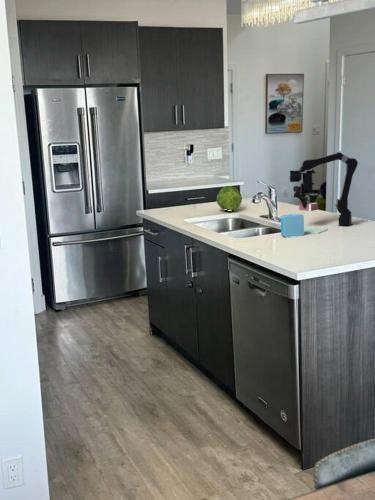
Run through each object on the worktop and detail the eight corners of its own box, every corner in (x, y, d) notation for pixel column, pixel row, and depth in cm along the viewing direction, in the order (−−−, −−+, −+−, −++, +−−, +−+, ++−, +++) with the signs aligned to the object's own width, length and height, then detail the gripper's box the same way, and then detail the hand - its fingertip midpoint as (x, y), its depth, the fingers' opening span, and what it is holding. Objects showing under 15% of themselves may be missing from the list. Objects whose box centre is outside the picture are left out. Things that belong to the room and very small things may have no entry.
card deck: (305, 208, 359) (305, 201, 358) (317, 209, 352) (317, 202, 351) (299, 210, 355) (298, 203, 355) (310, 211, 349) (310, 204, 348)
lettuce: (233, 207, 447) (232, 182, 443) (246, 211, 425) (245, 185, 421) (211, 210, 441) (209, 185, 437) (223, 214, 420) (221, 188, 416)
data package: (300, 234, 337) (300, 213, 334) (304, 235, 333) (303, 214, 330) (281, 236, 334) (280, 215, 332) (284, 238, 330) (283, 216, 327)
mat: (327, 229, 343) (327, 228, 343) (317, 233, 334) (317, 232, 334) (306, 228, 352) (306, 227, 352) (295, 232, 343) (295, 231, 343)
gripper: (307, 178, 362) (308, 204, 365) (286, 182, 351) (287, 209, 354) (322, 179, 353) (322, 205, 357) (301, 183, 342) (301, 210, 346)
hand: (308, 207), depth 353 cm, fingers closed on card deck, 6 cm apart
